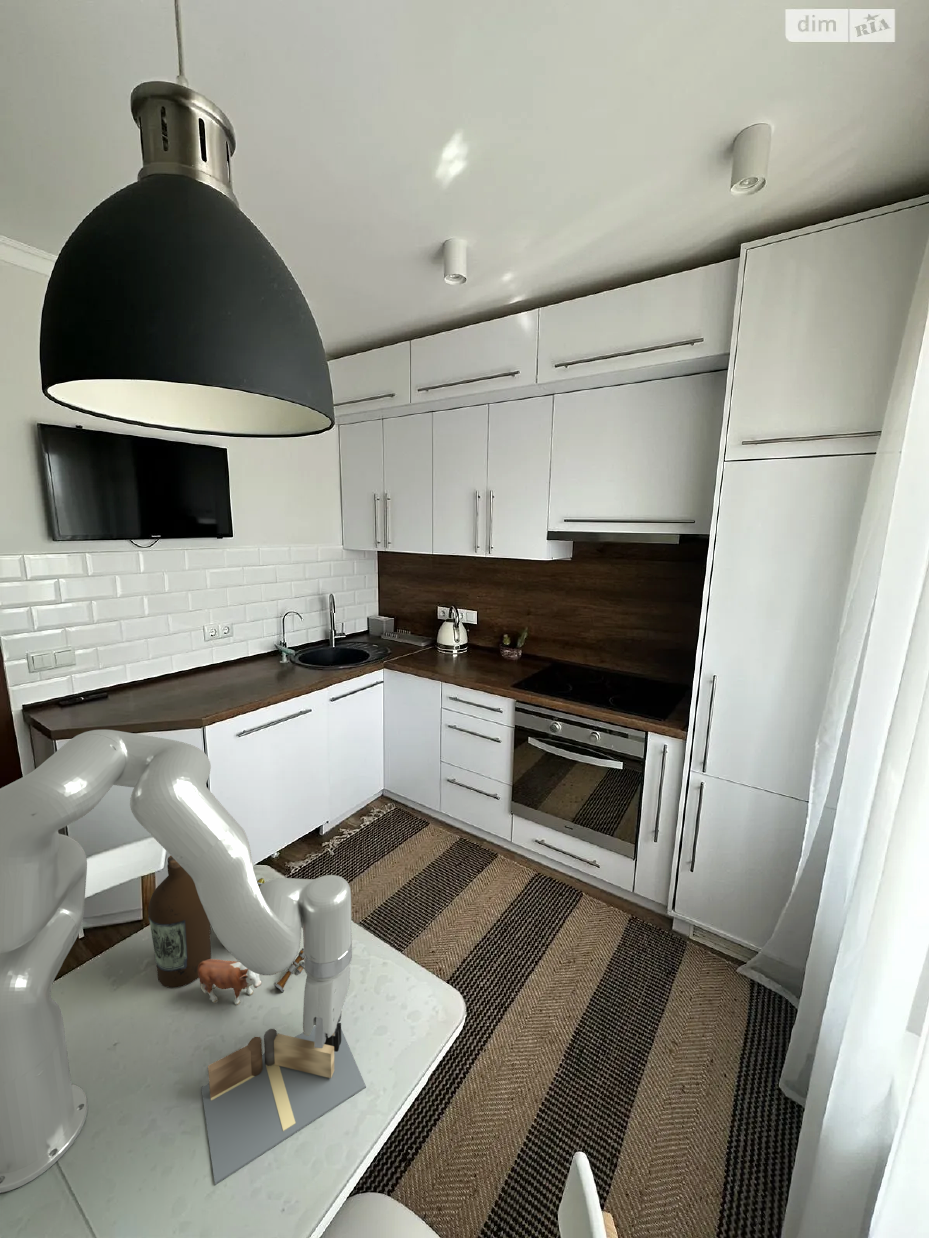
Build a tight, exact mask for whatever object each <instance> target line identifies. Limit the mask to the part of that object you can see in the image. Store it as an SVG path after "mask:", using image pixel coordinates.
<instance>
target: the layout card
mask: <svg viewBox="0 0 929 1238" xmlns="http://www.w3.org/2000/svg"><path fill="white" fill-rule="evenodd" d="M338 1023H340V1022H338ZM315 1029H316V1025H314V1027H313V1029H312V1031H311V1033H310V1036H306V1035H304V1032H300V1033H299V1034H298V1035H296V1036H294V1037H295V1038H300V1039H304V1040H308V1041H313V1042H315ZM344 1034H345V1033H344V1032H343V1030H342V1028H341V1044H340V1045H339V1050H338V1051H337V1052H335V1051H334V1072H333V1075H332V1077H331V1078H328V1077H324V1076H320V1075H316V1074H311V1073H307V1072H303V1071H299V1070H295V1069H291V1068H287V1067H283V1066H278V1065H275V1064H273V1065H271V1066H267V1065H266V1064H265V1054H264V1053H262V1063H263V1069H262V1071H261V1073H260V1074H259V1075H257V1076H250V1077H248V1078H246V1079H245V1080H243V1081H241V1082H239V1083H237V1084H236V1085H234V1086H232V1087H230V1088H228V1089H227V1090H225V1091H223V1092H221V1093H219V1094H218V1095H216V1096H214V1097H212V1098H211V1097H210V1089H209V1082H208V1083H206V1084H204V1085H203V1086H201V1087H200V1088H201V1096H202V1102H203V1108H204V1115H205V1122H206V1124H205V1125H206V1130H207V1131H206V1132H207V1138H208V1145H209V1151H210V1158H211V1159H210V1160H211V1166H212V1173H213V1180H214V1186H216V1185H217V1184H219V1183H221V1182H222V1181H225V1180H226V1179H227V1178H228V1177H230V1176H231V1175H233V1174H235V1173H236V1172H238V1171H239V1170H240V1169H242V1168H244V1167H245V1166H247V1165H248V1164H250V1163H252V1162H253V1161H255V1160H256V1159H258V1158H259V1157H261V1156H262V1155H264V1154H265V1153H267V1152H268V1151H270V1150H272V1149H273V1148H275V1147H276V1146H277V1145H279V1144H281V1143H282V1142H284V1141H285V1140H288V1139H289V1138H290V1137H292V1136H293V1135H295V1134H297V1133H298V1132H299V1131H301V1130H302V1129H304V1128H305V1127H307V1126H309V1125H310V1124H312V1123H313V1122H315V1121H317V1120H318V1119H320V1118H321V1117H323V1116H324V1115H325V1114H327V1113H329V1112H331V1111H332V1110H333V1109H335V1108H336V1107H338V1106H340V1105H341V1104H343V1103H344V1102H346V1101H347V1100H349V1099H351V1098H352V1097H354V1096H355V1095H357V1094H358V1093H359V1092H361V1091H363V1090H365V1089H366V1088H367V1086H366V1084H365V1081H364V1078H363V1075H362V1073H361V1071H360V1069H359V1067H358V1064H357V1062H356V1059H355V1058H354V1056H353V1052H352V1050H351V1048H350V1045H349V1043H348V1041H347V1039H346V1036H345V1035H344Z"/></svg>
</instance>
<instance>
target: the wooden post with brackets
mask: <svg viewBox="0 0 929 1238" xmlns="http://www.w3.org/2000/svg"><path fill="white" fill-rule="evenodd" d="M301 961H303V962H302V963H300V962H301ZM295 970H296V972H295ZM303 970H305V968H304V947H302V948H301V949H300V950H299V951H298V954H297V956H296V958H295V960H294V961H293V962H292V964H291V965H290V966H289V967H288V968H286V972H285V974H283V976H282V977H281V978H280V980H278V981H277V982H274V983H273V985H274V986H275V988H278V990H280V991H281V992H282V993H284V991H285V990H284V988H285V986H286V984H287V982H288V980H289V978H290V976H292V975H293V974H294V972H295V975H296V976H298V975H299V974H301V973H302V972H303Z"/></svg>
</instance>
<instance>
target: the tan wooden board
mask: <svg viewBox="0 0 929 1238" xmlns="http://www.w3.org/2000/svg"><path fill="white" fill-rule="evenodd" d="M314 1045H315V1042H313V1041H308V1040H304V1039H300V1038H295V1036H290V1035H286V1034H282V1033H278V1031H277V1030H276V1029H275V1028H270V1029H268V1030H267V1031H265V1032H264V1035H263V1048H264V1049H263V1050H264V1053H263V1054H265V1064H266V1065H267V1066H271V1065H273V1064H275V1065H278V1066H283V1067H287V1068H291V1069H295V1070H299V1071H303V1072H307V1073H311V1074H316V1075H320V1076H324V1077H328V1078H331V1077H332V1075H333V1072H334V1046H330V1045H326V1044H324V1046H323V1048H315V1047H314Z"/></svg>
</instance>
